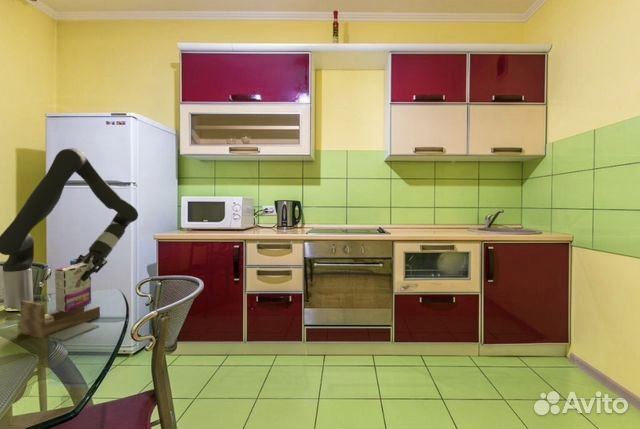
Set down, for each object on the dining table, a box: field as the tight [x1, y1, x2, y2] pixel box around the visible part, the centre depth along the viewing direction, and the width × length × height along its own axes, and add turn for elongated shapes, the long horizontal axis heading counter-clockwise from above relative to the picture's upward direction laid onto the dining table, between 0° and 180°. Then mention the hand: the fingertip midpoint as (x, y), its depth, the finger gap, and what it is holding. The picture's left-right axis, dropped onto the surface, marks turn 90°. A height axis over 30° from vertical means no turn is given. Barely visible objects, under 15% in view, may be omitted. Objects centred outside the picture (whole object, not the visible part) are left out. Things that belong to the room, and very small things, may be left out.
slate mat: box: [47, 322, 100, 342], centre depth 126 cm, size 8×13×1 cm, turn 161°
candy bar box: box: [54, 263, 92, 312], centre depth 135 cm, size 11×5×16 cm, turn 167°
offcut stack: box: [45, 313, 55, 325], centre depth 125 cm, size 6×5×5 cm
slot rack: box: [20, 300, 101, 340], centre depth 132 cm, size 11×22×12 cm, turn 161°
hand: (77, 279), depth 136 cm, fingers closed on candy bar box, 5 cm apart
